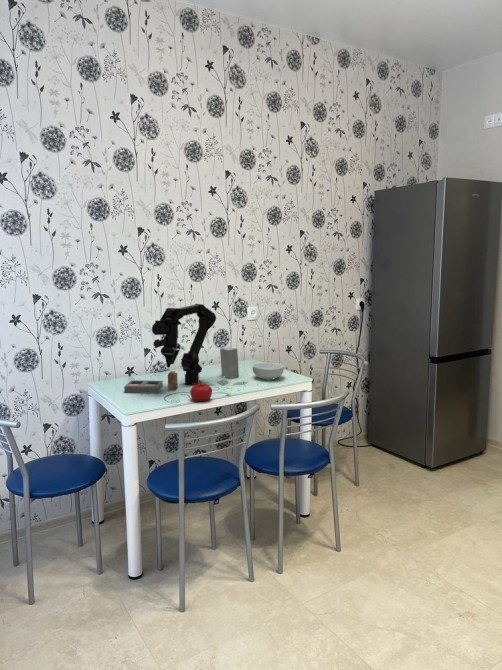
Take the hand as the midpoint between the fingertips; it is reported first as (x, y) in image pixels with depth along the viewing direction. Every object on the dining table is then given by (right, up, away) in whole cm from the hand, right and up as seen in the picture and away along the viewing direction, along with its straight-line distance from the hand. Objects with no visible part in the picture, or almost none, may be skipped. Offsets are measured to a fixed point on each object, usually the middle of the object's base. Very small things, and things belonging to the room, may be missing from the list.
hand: (170, 365), depth 246 cm
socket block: (-13, -12, +1) cm, 18 cm away
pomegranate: (+16, -15, -14) cm, 26 cm away
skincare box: (+28, -8, +28) cm, 40 cm away
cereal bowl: (+49, -8, +26) cm, 56 cm away
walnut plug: (+1, -12, +2) cm, 12 cm away
